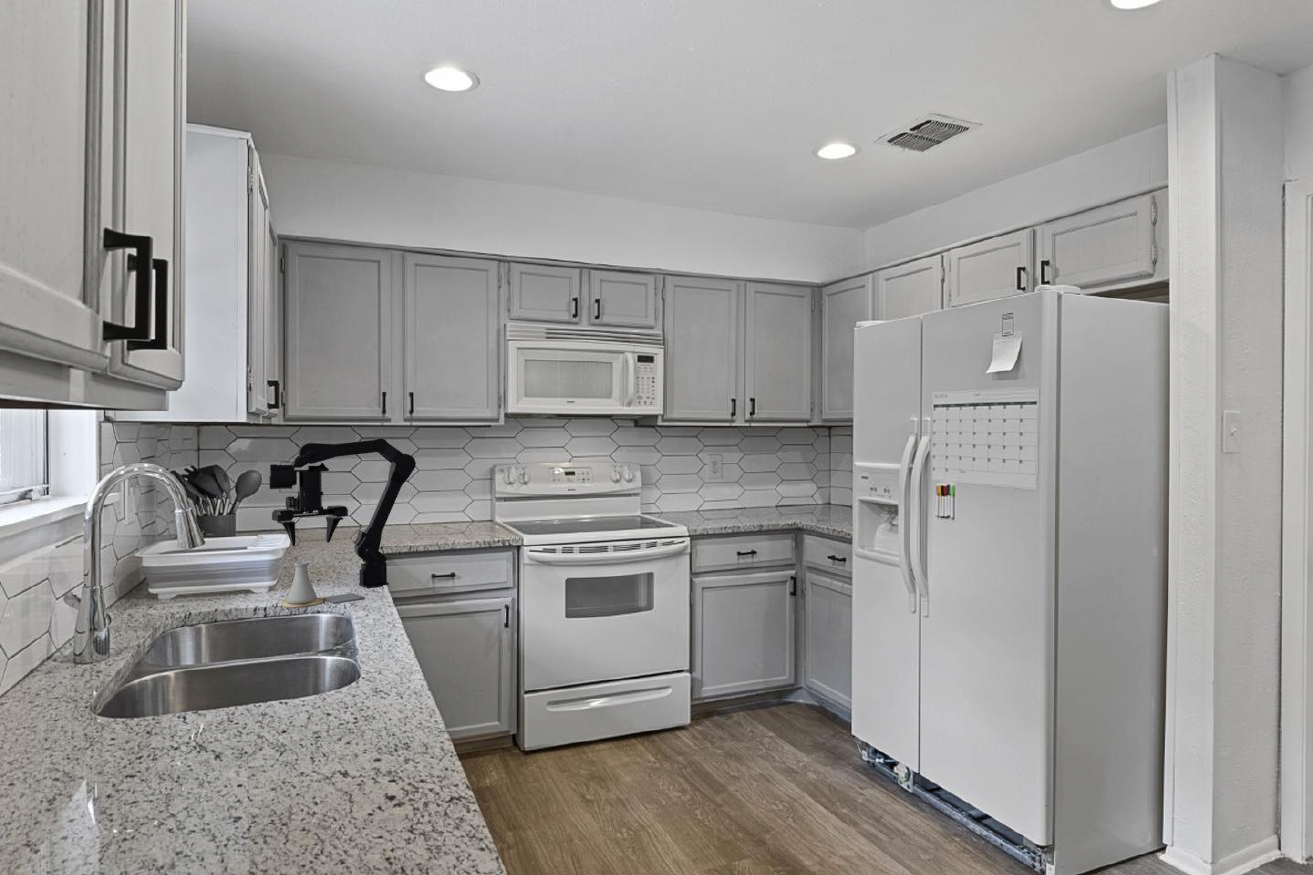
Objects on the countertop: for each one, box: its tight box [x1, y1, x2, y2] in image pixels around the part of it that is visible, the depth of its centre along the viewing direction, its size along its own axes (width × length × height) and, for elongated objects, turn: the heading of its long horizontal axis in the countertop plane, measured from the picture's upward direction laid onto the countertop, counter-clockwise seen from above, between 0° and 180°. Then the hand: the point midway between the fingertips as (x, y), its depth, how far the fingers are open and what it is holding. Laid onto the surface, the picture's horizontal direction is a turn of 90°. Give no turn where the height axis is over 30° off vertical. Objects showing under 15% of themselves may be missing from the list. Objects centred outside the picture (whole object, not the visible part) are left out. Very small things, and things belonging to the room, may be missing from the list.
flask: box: [285, 561, 319, 604], centre depth 202 cm, size 7×7×10 cm
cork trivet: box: [280, 597, 325, 608], centre depth 202 cm, size 10×10×1 cm
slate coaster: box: [322, 592, 366, 605], centre depth 207 cm, size 8×8×1 cm
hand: (311, 544), depth 217 cm, fingers open, 9 cm apart
